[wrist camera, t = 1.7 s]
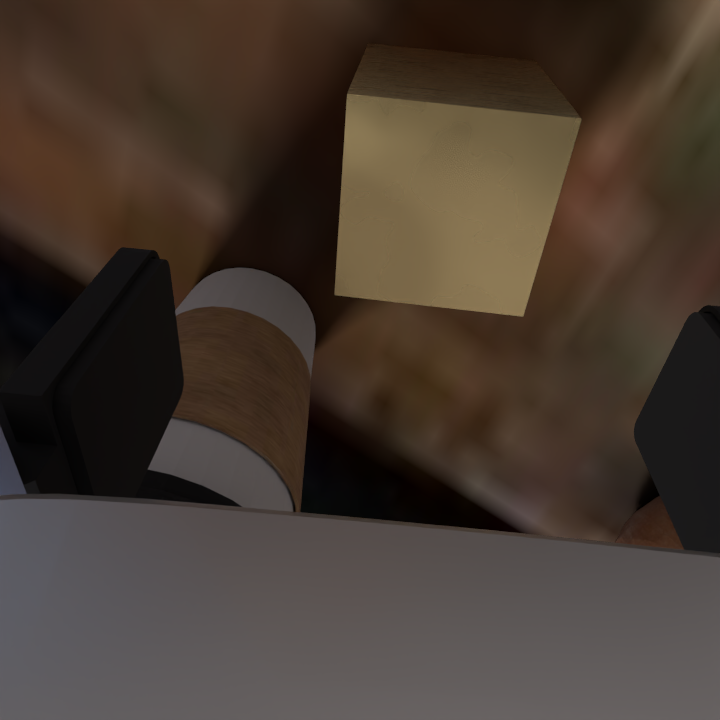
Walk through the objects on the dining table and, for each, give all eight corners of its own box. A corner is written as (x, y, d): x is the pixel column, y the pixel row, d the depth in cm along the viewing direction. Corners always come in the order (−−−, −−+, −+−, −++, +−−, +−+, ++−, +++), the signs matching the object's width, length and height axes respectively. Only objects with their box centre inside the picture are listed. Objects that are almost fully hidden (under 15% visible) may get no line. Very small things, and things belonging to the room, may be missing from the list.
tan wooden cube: (535, 60, 19) (581, 118, 14) (497, 217, 23) (522, 316, 17) (368, 42, 19) (346, 93, 14) (355, 202, 23) (334, 295, 17)
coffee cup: (125, 326, 27) (-107, 649, 15) (224, 197, 23) (11, 503, 11) (271, 422, 30) (173, 756, 18) (383, 323, 26) (351, 672, 14)
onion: (700, 423, 32) (886, 511, 22) (748, 558, 34) (933, 691, 24) (545, 505, 32) (662, 629, 22) (603, 634, 34) (732, 798, 24)
